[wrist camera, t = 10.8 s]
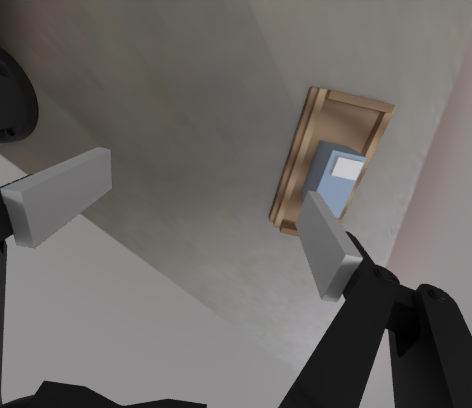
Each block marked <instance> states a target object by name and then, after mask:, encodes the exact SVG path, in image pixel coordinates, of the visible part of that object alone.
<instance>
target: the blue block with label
mask: <svg viewBox="0 0 472 408" xmlns="http://www.w3.org/2000/svg"><path fill="white" fill-rule="evenodd" d="M366 160H367V157H365V156H363V155H362V154H360V153H358V152H357V151H355V150H353V149H352V148H350V147H348V146H344V145H339V144H335V143H330V142H326V141H322V140H320V141H319V144H318V147H317V150H316V152H315V155H314V158H313V161H312V163H311V166H310V169H309V172H308V174H307V177H306V180H305V183H304V185H303V188H302V191H301V196H302V198H303V200H305V197H306V194H307V192H308V191H313V192H318V193H320V195H321V196H322V198H323V199H324V201H325V202H326V204H327V205H328V207H329V208H330V210H331V211H332V213H333V214H334V216H335V217H336V218H339V217H340V215H341V213H342V211H343V209H344V207H345V204H346V202H347V200H348V198H349V196H350V194H351V192H352V190H353V187H354V185H355V183H356V181H357V179H358V177H359V175H360V173H361V170H362V168H363V166H364V164H365V162H366Z"/></svg>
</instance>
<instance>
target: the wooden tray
mask: <svg viewBox="0 0 472 408" xmlns="http://www.w3.org/2000/svg"><path fill="white" fill-rule="evenodd" d="M395 109H396V106H395V105H391V104H387V103H383V102H379V101H375V100H371V99H366V98H362V97H358V96H354V95H350V94H345V93H341V92H337V91H333V90H325V89H321V88H314V87H310V89H309V92H308V95H307V99H306V102H305V105H304V108H303V111H302V114H301V117H300V121H299V124H298V127H297V130H296V133H295V136H294V139H293V143H292V146H291V149H290V152H289V155H288V158H287V161H286V165H285V168H284V171H283V174H282V177H281V180H280V184H279V187H278V190H277V193H276V196H275V199H274V202H273V206H272V209H271V212H270V215H269V221H271V222H273V223H274V227H279V228H280V232H281V233H285V234H290V235H295V236H299V234H298V231H297V229H296V226H295V223H296V221H297V218H298V215H299V213H300V210H301V208H302V205H303V202H304V200H303V198H302V196H301V191H302V188H303V185H304V183H305V180H306V177H307V174H308V172H309V169H310V166H311V163H312V161H313V158H314V155H315V152H316V150H317V147H318V144H319V141H320V140H322V141H326V142H330V143H335V144H339V145H344V146H348V147H350V148H352V149H353V150H355V151H357V152H358V153H360V154H362V155H363V156H365V157H367V160H366V162H365V164H364V166H363V168H362V170H361V173H360V175H359V177H358V179H357V181H356V183H355V185H354V187H353V190H352V192H351V194H350V196H349V198H348V200H347V202H346V204H345V207H344V209H343V211H342V213H341V215H340V217H339V218H336V219H337V220H338V222H339V223H340V222H341V220H342V218H343V216H344V214H345V212H346V210H347V208H348V206H349V203H350V201H351V199H352V197H353V195H354V193H355V191H356V189H357V187H358V185H359V183H360V181H361V179H362V177H363V175H364V172H365V170H366V168H367V166H368V164H369V162H370V160H371V158H372V156H373V154H374V152H375V150H376V148H377V146H378V144H379V142H380V139H381V137H382V135H383V133H384V131H385V129H386V127H387V125H388V123H389V121H390V119H391V117H392V115H393V113H394V111H395Z"/></svg>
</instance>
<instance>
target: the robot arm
mask: <svg viewBox="0 0 472 408" xmlns="http://www.w3.org/2000/svg"><path fill="white" fill-rule="evenodd" d="M37 115H38V108H37V101H36V97H35V94H34V91H33V88H32V86H31V84H30V82H29V80H28V78H27V76H26V75H25V73H24V72H23V70H22V69H21V68H20V66H19V65H18V64H17V63H16V62H15V60H14V59H13V58H12V57H11V56H10V55H9V54H7V53H6V52H5V51H4V50H3V49H1V48H0V143H8V142H12V141H17V140H21V139H23V138H25V137H27V136H28V135H29V134H30V133H31V132H32V130H33V129H34V127H35V125H36V121H37ZM111 189H112V176H111V154H110V149H105V148H101V147H97V148H95V149H92V150H90V151H87V152H85V153H83V154H80V155H78V156H76V157H73V158H71V159H69V160H66V161H64V162H61V163H59V164H57V165H54V166H52V167H50V168H47V169H45V170H42V171H40V172H38V173H35V174H30V175H28V176H25V177H23V178H21V179H20V180H19V179H18V180H16V181H13V182H12V183H8V184H6V185H4V186H1V187H0V408H207V404H200V403H194V402H187V401H180V400H173V399H164V400H158V401H152V402H145V403H139V404H134V405H127V406H121V405H119V404H117V403H115V402H113V401H111V400H109V399H107V398H105V397H103V396H102V395H100V394H98V393H96V392H94V391H93V390H91V389H89V388H87V387H84V386H78V385H71V384H63V383H57V382H51V381H44V382H43V383H42V385H41V386H40V387H39V389H38V391H37V392H36V393H35V395H31V396H27V397H23V398H19V399H16V400H13V401H11V402H8V403H5V404H2V399H1V377H2V376H1V375H2V354H3V329H4V307H5V306H4V305H5V284H6V261H7V245H6V241H5V239H6V238H8V237H9V236H11V235H12V234H13V235H14V238H15V242H16V245H18V246H24V247H29V248H36V247H37V246H38V245H40V244H41V243H42V242H44V241H45V240H46V239H47V238H49V237H50V236H51V235H52V234H54V233H55V232H56V231H58V230H59V229H60V228H62V227H63V226H64V225H65V224H67V223H68V222H69V221H71V220H72V219H73V218H74V217H76V216H77V215H78V214H80V213H81V212H82V211H84V210H85V209H86V208H87V207H89V206H90V205H91V204H93V203H94V202H95V201H96V200H98V199H99V198H100V197H102V196H103V195H104V194H105V193H107V192H108V191H109V190H111ZM295 226H296V229H297V231H298V234H299V237H300V240H301V243H302V246H303V248H304V251H305V254H306V257H307V260H308V263H309V266H310V268H311V271H312V274H313V277H314V280H315V283H316V285H317V288H318V291H319V294H320V297H321V300H326V301H331V302H338V300H339V298H340V297H341V295H342V293H343V295H344V298H345V300H346V301H345V302H344V304H343V305H342V307H341V309H340V310H339V312H338V313H337V315H336V317H335V318H334V320H333V321H332V323H331V325H330V326H329V328H328V329H327V331H326V333H325V334H324V336H323V337H322V339H321V341H320V342H319V344H318V345H317V347H316V349H315V350H314V352H313V353H312V355H311V357H310V358H309V360H308V361H307V363H306V365H305V366H304V368H303V369H302V371H301V373H300V374H299V376H298V377H297V379H296V381H295V382H294V384H293V385H292V387H291V388H290V390H289V391H288V393H287V395H286V396H285V398H284V399H283V401H282V402H281V404H280V406H279V407H278V408H359V405H360V402H361V399H362V396H363V393H364V390H365V387H366V384H367V381H368V378H369V375H370V371H371V369H372V366H373V363H374V360H375V357H376V354H377V351H378V348H379V345H380V342H381V339H382V336H383V333H384V330H385V328H386V329H388V333H389V345H390V356H391V367H392V378H393V391H394V401H395V408H472V336H471V333H470V331H469V329H468V327H467V325H466V323H465V320H464V318H463V316H462V314H461V312H460V309H459V307H458V305H457V304H456V302H455V301H454V299H452V298H451V297H450V296H449V295H448V294H447V293H446V292H444V291H443V290H441V289H439V288H437V287H435V286H432V285H429V284H421V285H419V287H418V288H417V289H416V291H415V290H413V289H410V288H407V287H405V286H403V285H400V282H399V280H398V279H397V277H396V276H395V275H394V274H393V273H392V272H390V271H389V270H387V269H386V268H384V267H382V266H379V265H375V263H374V262H373V261H372V259H371V258H370V257H369V255H368V254H367V252H366V251H365V250H364V248H363V247H362V245H361V244H360V243H359V241H358V240H357V238H356V237H354V236H353V235H352V234H351V233H349V232H346V231H345V230H344V229H343V227H342V226H341V225H340V223H339V222H338V220H337V219H336V217H335V216H334V214H333V213H332V211H331V210H330V208H329V207H328V205H327V204H326V202H325V201H324V199H323V198H322V196H321V195H320V193H318V192H313V191H308V192H307V194H306V197H305V200H304V202H303V205H302V208H301V210H300V213H299V215H298V218H297V221H296V223H295Z"/></svg>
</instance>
